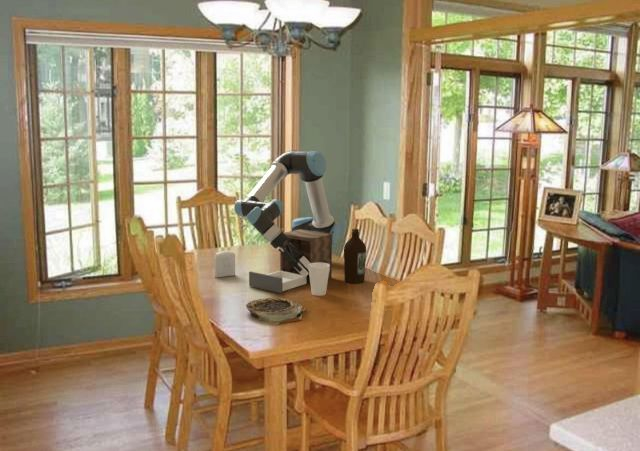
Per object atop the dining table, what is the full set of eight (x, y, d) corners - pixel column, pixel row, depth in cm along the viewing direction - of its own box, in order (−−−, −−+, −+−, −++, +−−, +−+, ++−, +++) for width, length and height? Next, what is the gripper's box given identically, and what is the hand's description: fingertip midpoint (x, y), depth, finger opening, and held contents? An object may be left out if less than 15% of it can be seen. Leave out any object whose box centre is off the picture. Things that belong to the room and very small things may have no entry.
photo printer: (232, 273, 323) (232, 249, 320) (236, 275, 319) (236, 250, 317) (213, 276, 317) (213, 251, 315) (217, 278, 313) (216, 253, 311)
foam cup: (329, 296, 284) (329, 267, 282) (307, 296, 284) (308, 267, 282) (329, 290, 294) (329, 262, 292) (308, 290, 294) (308, 262, 292)
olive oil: (338, 281, 310) (339, 229, 306) (351, 277, 318) (352, 226, 314) (357, 285, 304) (359, 232, 300) (369, 280, 312) (371, 228, 308)
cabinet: (300, 271, 329) (300, 229, 325) (331, 277, 317) (331, 233, 313) (280, 277, 317) (280, 233, 313) (312, 283, 305) (312, 238, 301)
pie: (249, 329, 243) (248, 316, 242) (228, 309, 267) (228, 297, 266) (318, 320, 254) (318, 308, 253) (292, 302, 278) (292, 291, 278)
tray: (277, 277, 315) (277, 263, 314) (309, 284, 304) (309, 270, 302) (249, 286, 299) (249, 271, 298) (280, 293, 288) (280, 278, 287)
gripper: (275, 237, 299) (307, 270, 300) (263, 248, 275) (298, 284, 276) (286, 226, 298) (319, 260, 298) (275, 236, 273) (311, 273, 274)
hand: (309, 272), depth 287 cm, fingers open, 13 cm apart
